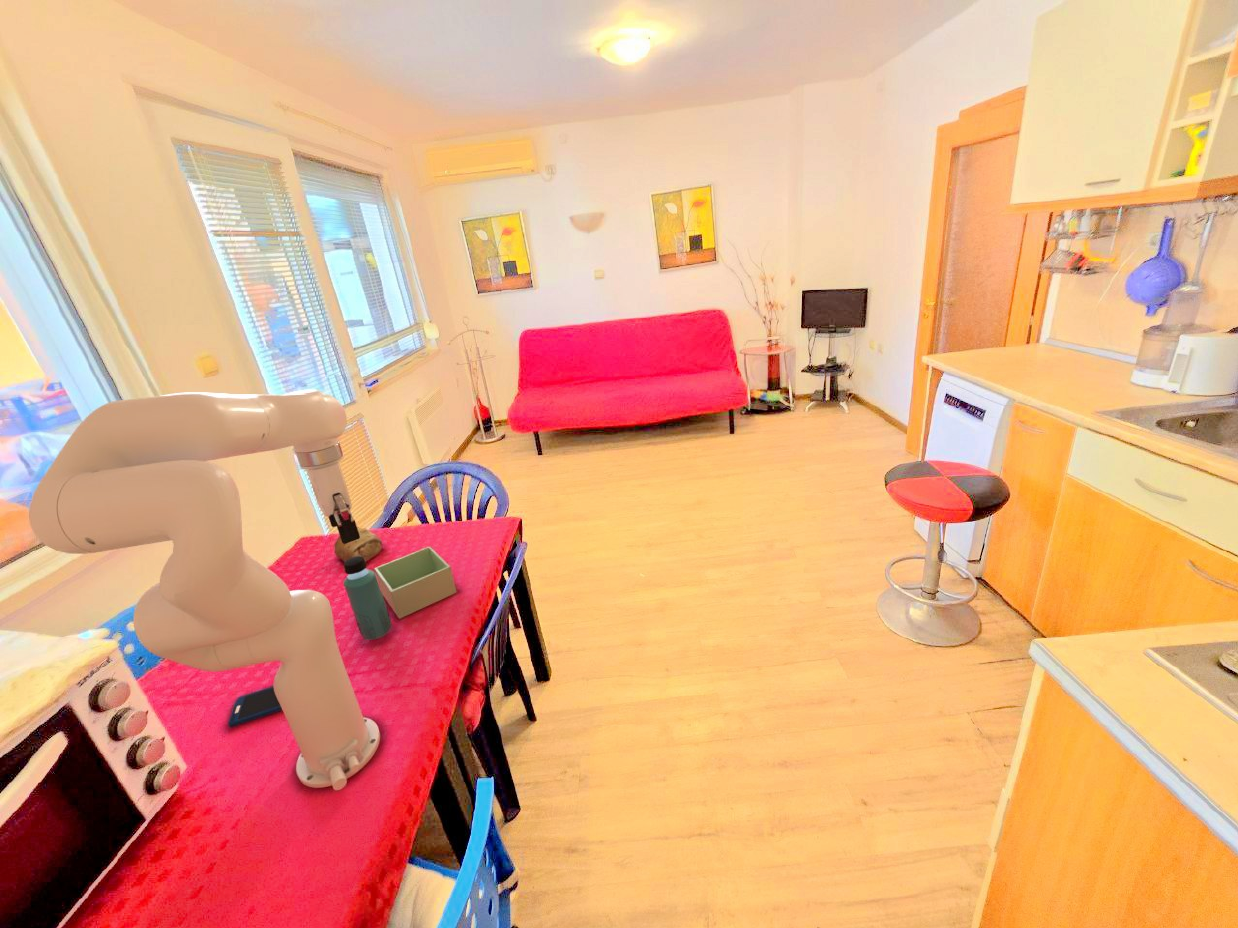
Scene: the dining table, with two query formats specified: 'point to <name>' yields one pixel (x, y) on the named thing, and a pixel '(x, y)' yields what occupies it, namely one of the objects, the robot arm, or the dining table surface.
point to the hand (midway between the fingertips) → (345, 532)
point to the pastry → (359, 546)
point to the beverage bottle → (366, 599)
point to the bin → (415, 581)
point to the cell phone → (254, 706)
